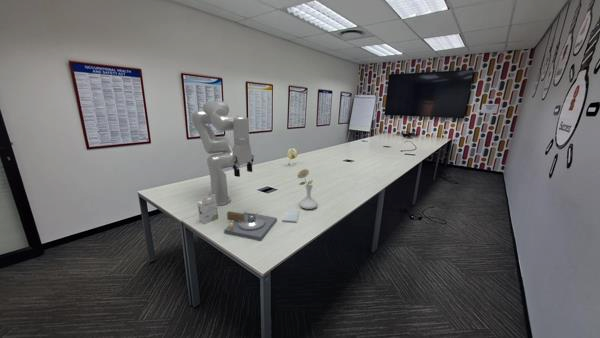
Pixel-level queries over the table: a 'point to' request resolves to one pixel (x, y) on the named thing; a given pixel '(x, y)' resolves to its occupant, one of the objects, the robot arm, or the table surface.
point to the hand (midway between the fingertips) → (243, 173)
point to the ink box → (207, 209)
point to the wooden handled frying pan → (247, 220)
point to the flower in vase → (308, 201)
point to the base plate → (251, 234)
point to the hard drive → (291, 216)
